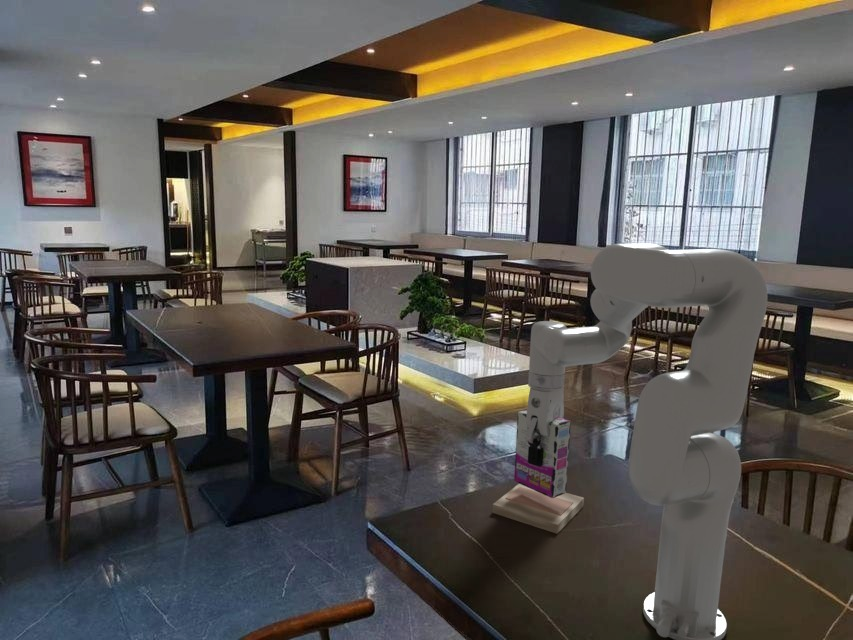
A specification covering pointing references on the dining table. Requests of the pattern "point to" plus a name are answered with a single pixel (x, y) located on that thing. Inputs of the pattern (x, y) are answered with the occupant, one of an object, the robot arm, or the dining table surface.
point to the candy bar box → (544, 458)
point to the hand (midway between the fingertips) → (541, 458)
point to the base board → (538, 508)
